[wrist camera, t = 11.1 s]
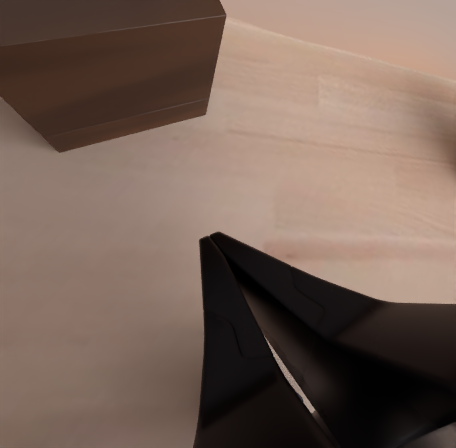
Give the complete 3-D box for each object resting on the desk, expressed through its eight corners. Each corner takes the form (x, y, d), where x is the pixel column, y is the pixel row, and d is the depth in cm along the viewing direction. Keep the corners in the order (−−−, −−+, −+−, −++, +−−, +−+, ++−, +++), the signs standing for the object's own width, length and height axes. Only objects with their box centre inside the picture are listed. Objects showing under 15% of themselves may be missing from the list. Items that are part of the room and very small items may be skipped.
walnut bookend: (205, 114, 24) (226, 14, 14) (59, 152, 20) (-47, 52, 10) (162, 15, 25) (154, -143, 15) (13, 34, 21) (-125, -161, 11)
